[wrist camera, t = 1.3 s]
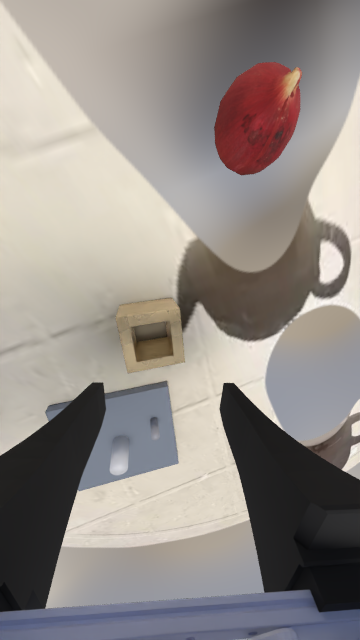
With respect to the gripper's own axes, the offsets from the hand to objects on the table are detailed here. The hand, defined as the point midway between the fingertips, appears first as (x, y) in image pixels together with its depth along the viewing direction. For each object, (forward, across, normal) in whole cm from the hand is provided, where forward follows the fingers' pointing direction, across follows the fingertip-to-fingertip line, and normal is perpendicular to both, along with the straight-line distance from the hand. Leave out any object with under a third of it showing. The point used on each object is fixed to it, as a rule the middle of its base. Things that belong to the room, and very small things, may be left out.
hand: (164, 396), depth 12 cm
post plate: (+10, +6, +16) cm, 20 cm away
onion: (+14, -6, -17) cm, 22 cm away
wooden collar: (+11, +2, 0) cm, 11 cm away
